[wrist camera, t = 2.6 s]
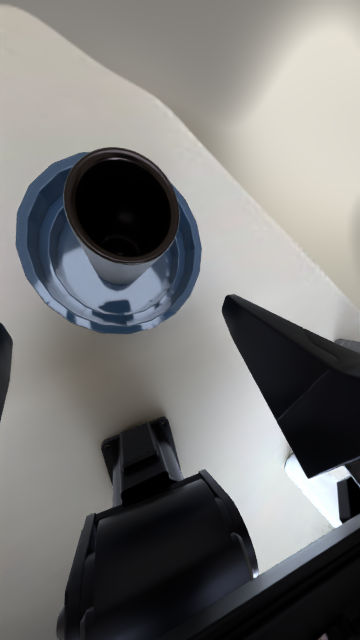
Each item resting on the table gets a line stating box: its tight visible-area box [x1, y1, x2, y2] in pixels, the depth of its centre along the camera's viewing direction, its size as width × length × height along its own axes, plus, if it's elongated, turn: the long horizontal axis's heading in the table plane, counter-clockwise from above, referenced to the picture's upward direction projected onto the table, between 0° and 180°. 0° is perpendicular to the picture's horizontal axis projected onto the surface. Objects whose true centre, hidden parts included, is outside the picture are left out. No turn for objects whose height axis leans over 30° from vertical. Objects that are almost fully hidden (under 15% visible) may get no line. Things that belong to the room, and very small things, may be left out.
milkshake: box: [285, 454, 342, 528], centre depth 22 cm, size 4×5×10 cm
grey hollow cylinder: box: [63, 147, 180, 285], centre depth 13 cm, size 4×4×10 cm
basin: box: [16, 152, 202, 334], centre depth 16 cm, size 12×12×4 cm
